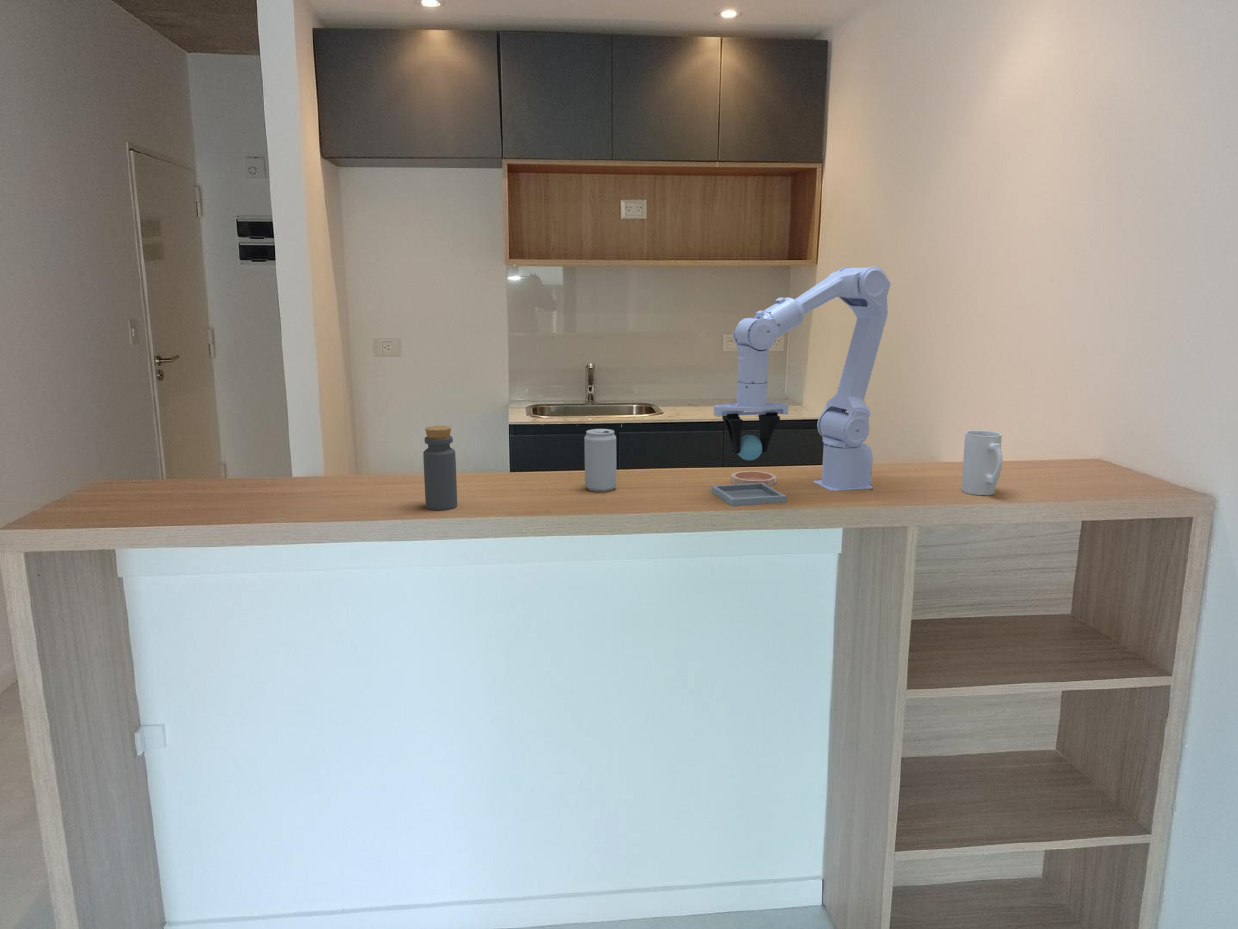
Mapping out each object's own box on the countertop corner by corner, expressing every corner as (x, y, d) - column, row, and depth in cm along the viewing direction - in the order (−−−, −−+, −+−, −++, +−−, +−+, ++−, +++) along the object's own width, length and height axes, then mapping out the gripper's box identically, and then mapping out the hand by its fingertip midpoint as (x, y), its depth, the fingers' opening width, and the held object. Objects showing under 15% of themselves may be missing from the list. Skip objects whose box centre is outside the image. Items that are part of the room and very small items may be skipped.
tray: (762, 490, 175) (763, 482, 174) (786, 504, 164) (786, 496, 164) (711, 493, 172) (711, 485, 172) (731, 507, 162) (731, 499, 161)
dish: (764, 477, 186) (765, 469, 186) (783, 487, 177) (783, 479, 177) (724, 479, 184) (724, 472, 183) (741, 489, 175) (741, 482, 175)
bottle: (419, 506, 162) (415, 427, 159) (446, 500, 166) (442, 423, 163) (436, 512, 158) (433, 431, 155) (463, 506, 162) (460, 427, 159)
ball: (756, 457, 171) (757, 432, 170) (765, 462, 166) (766, 437, 165) (732, 457, 170) (733, 432, 169) (740, 463, 166) (741, 437, 164)
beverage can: (612, 493, 172) (612, 434, 169) (581, 491, 173) (580, 432, 171) (619, 486, 178) (619, 428, 175) (588, 484, 179) (588, 427, 177)
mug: (953, 488, 177) (958, 430, 174) (983, 487, 178) (989, 429, 175) (981, 501, 167) (987, 440, 164) (1013, 499, 168) (1019, 439, 165)
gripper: (779, 378, 170) (775, 446, 173) (709, 380, 167) (707, 449, 170) (794, 383, 164) (790, 453, 167) (722, 384, 160) (719, 456, 163)
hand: (749, 451), depth 168 cm, fingers closed on ball, 5 cm apart
